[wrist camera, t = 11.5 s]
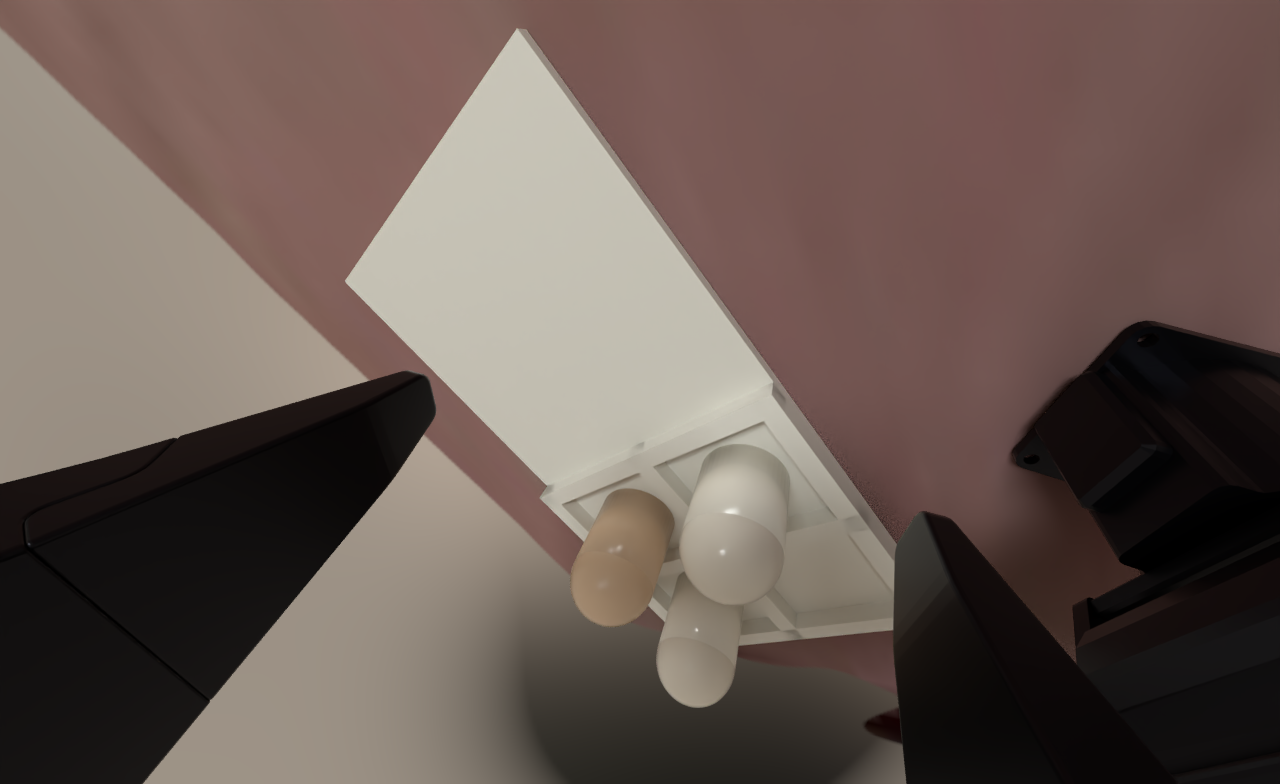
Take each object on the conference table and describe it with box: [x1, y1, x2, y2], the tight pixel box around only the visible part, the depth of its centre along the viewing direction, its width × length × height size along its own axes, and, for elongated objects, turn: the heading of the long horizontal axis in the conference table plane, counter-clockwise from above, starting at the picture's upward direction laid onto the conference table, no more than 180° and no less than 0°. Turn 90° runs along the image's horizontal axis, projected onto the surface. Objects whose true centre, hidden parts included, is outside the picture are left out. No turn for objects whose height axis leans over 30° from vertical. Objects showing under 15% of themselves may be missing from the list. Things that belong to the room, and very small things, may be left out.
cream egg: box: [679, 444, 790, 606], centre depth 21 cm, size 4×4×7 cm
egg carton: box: [345, 28, 897, 646], centre depth 24 cm, size 32×16×2 cm, turn 40°
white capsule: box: [656, 571, 744, 708], centre depth 27 cm, size 4×4×7 cm
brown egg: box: [570, 488, 675, 627], centre depth 25 cm, size 4×4×7 cm
